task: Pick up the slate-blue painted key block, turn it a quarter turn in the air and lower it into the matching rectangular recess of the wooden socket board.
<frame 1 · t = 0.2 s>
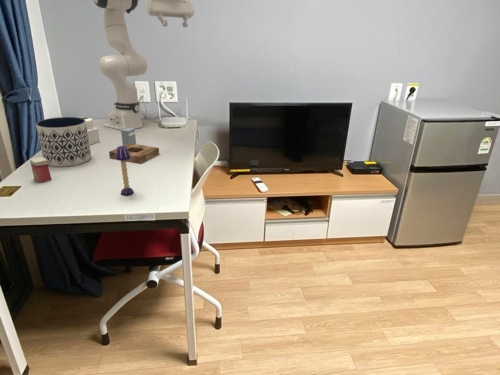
hand: (175, 26, 141), 54 cm above the table, tool tilted 30°, fingers open, 8 cm apart
toy lamp: (127, 193, 120), on the table
small box: (43, 180, 128), on the table
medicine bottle: (89, 143, 170), on the table
key block: (129, 145, 168), on the table
planter: (68, 160, 147), on the table
wooden socket board: (135, 156, 155), on the table
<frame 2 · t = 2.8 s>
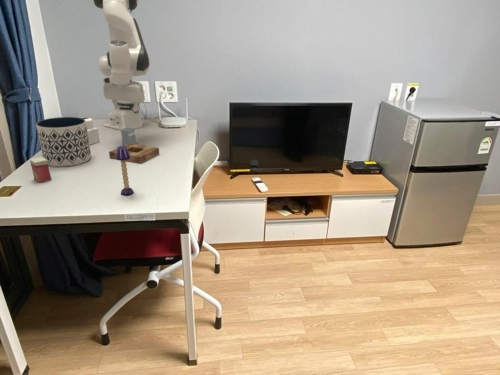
hand: (125, 110, 161), 17 cm above the table, tool pointing down, fingers open, 8 cm apart
nothing on the table moved.
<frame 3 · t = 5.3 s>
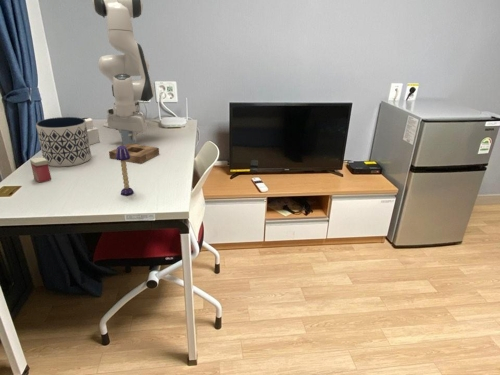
hand: (128, 139, 167), 3 cm above the table, tool pointing down, fingers closed on key block, 4 cm apart
key block: (129, 145, 168), on the table, touching gripper
everything else where it was.
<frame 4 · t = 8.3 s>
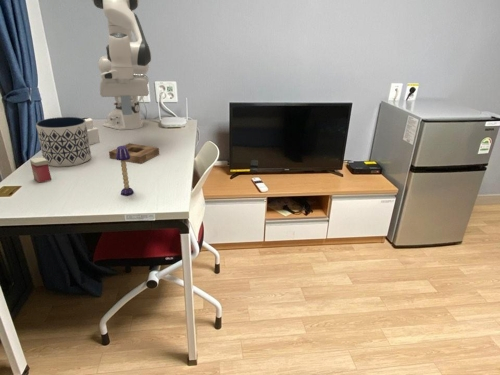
hand: (126, 106, 154), 20 cm above the table, tool pointing down, fingers closed on key block, 4 cm apart
key block: (127, 113, 155), point 17 cm above the table, touching gripper
everything else where it was.
when the fingers open (5 cm above the table, at t = 11.5 s): key block moves 1 cm, resting on wooden socket board.
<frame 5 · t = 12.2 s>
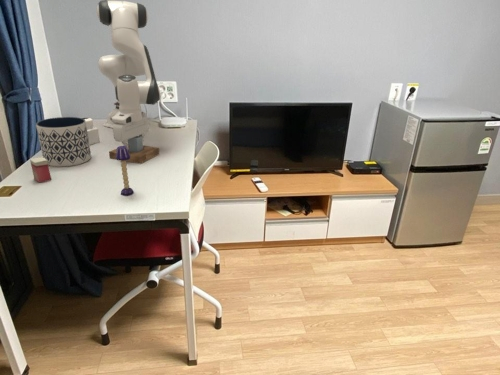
hand: (134, 146, 153), 5 cm above the table, tool pointing down, fingers open, 8 cm apart
key block: (136, 154, 155), point 1 cm above the table, touching wooden socket board
everything else where it was.
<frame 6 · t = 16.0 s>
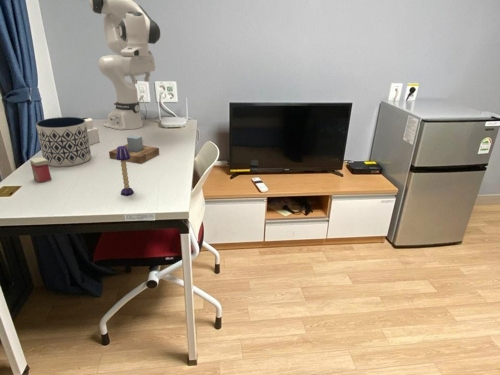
hand: (141, 82, 162), 29 cm above the table, tool pointing down, fingers open, 8 cm apart
nothing on the table moved.
at the end: key block 0.9 cm off-centre on the wooden socket board, point 0.6 cm above the wooden socket board's base; key block tilted 0°; the gripper is holding nothing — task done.
